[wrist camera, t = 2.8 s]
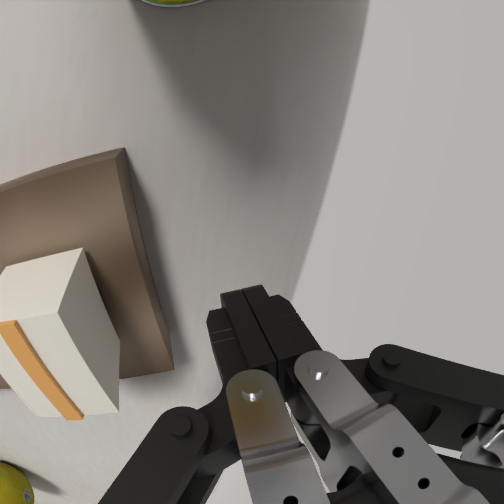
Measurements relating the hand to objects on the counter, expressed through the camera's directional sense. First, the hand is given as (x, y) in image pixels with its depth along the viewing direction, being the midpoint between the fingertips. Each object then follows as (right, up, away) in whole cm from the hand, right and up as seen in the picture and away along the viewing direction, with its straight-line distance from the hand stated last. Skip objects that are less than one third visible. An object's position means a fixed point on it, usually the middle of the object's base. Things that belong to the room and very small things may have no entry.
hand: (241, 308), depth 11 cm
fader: (-8, 0, 0) cm, 8 cm away
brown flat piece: (-16, 0, +1) cm, 16 cm away
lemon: (-33, -27, +10) cm, 44 cm away
